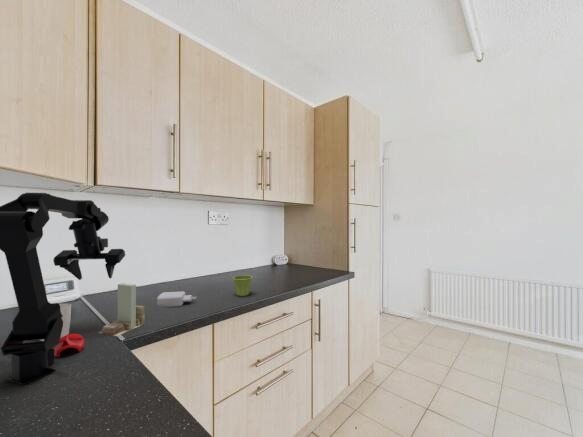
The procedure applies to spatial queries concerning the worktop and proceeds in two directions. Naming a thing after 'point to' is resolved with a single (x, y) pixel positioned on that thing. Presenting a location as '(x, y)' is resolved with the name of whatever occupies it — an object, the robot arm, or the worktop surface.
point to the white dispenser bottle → (173, 299)
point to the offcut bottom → (113, 331)
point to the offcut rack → (139, 320)
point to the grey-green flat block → (127, 303)
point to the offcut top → (113, 326)
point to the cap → (69, 343)
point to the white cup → (65, 319)
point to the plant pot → (242, 284)
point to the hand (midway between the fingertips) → (95, 278)
